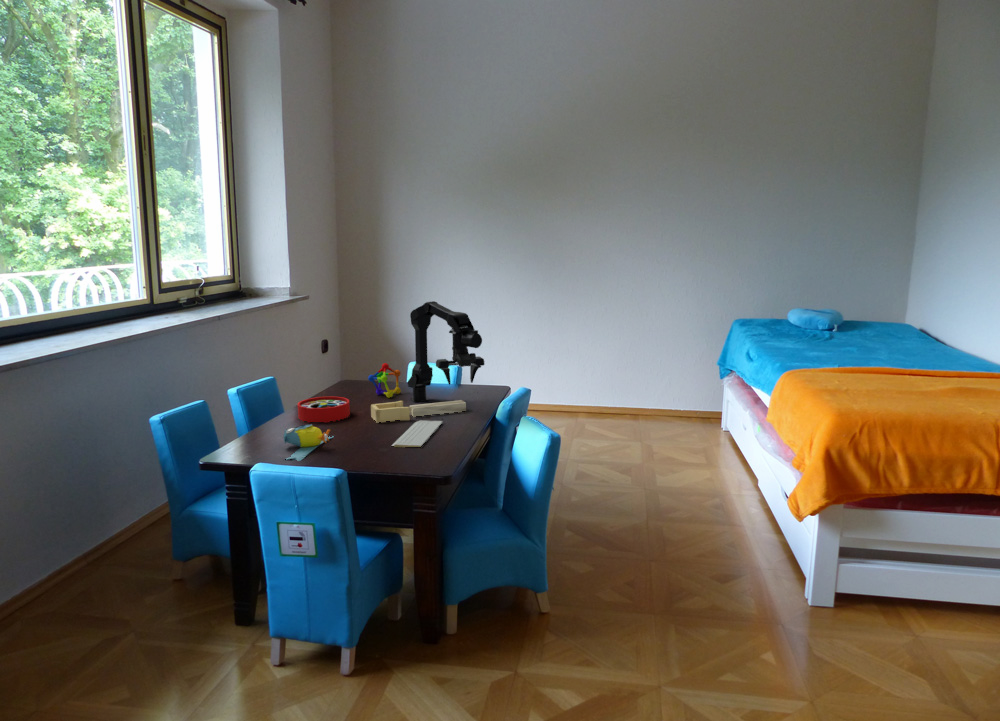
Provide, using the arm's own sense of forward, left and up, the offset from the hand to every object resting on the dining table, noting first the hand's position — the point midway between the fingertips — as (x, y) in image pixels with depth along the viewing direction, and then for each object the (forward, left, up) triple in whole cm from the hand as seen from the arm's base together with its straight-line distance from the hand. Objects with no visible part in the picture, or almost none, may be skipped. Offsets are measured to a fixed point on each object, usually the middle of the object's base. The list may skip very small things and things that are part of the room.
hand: (460, 383), depth 285 cm
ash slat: (-2, -9, -12) cm, 15 cm away
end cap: (-2, -29, -12) cm, 31 cm away
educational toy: (-41, -22, -12) cm, 48 cm away
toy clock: (-16, -52, -12) cm, 56 cm away
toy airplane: (+24, -63, -12) cm, 69 cm away
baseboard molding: (+24, -25, -12) cm, 37 cm away
